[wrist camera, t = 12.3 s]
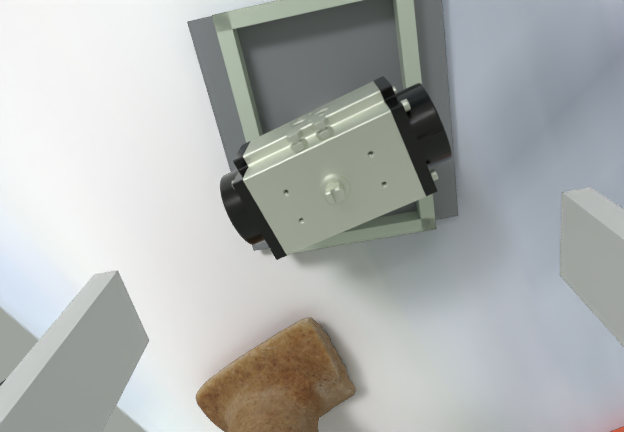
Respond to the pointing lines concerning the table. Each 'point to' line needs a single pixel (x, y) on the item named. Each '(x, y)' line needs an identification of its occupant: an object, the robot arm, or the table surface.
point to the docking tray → (326, 78)
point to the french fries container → (619, 430)
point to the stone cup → (278, 384)
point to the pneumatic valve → (336, 167)
